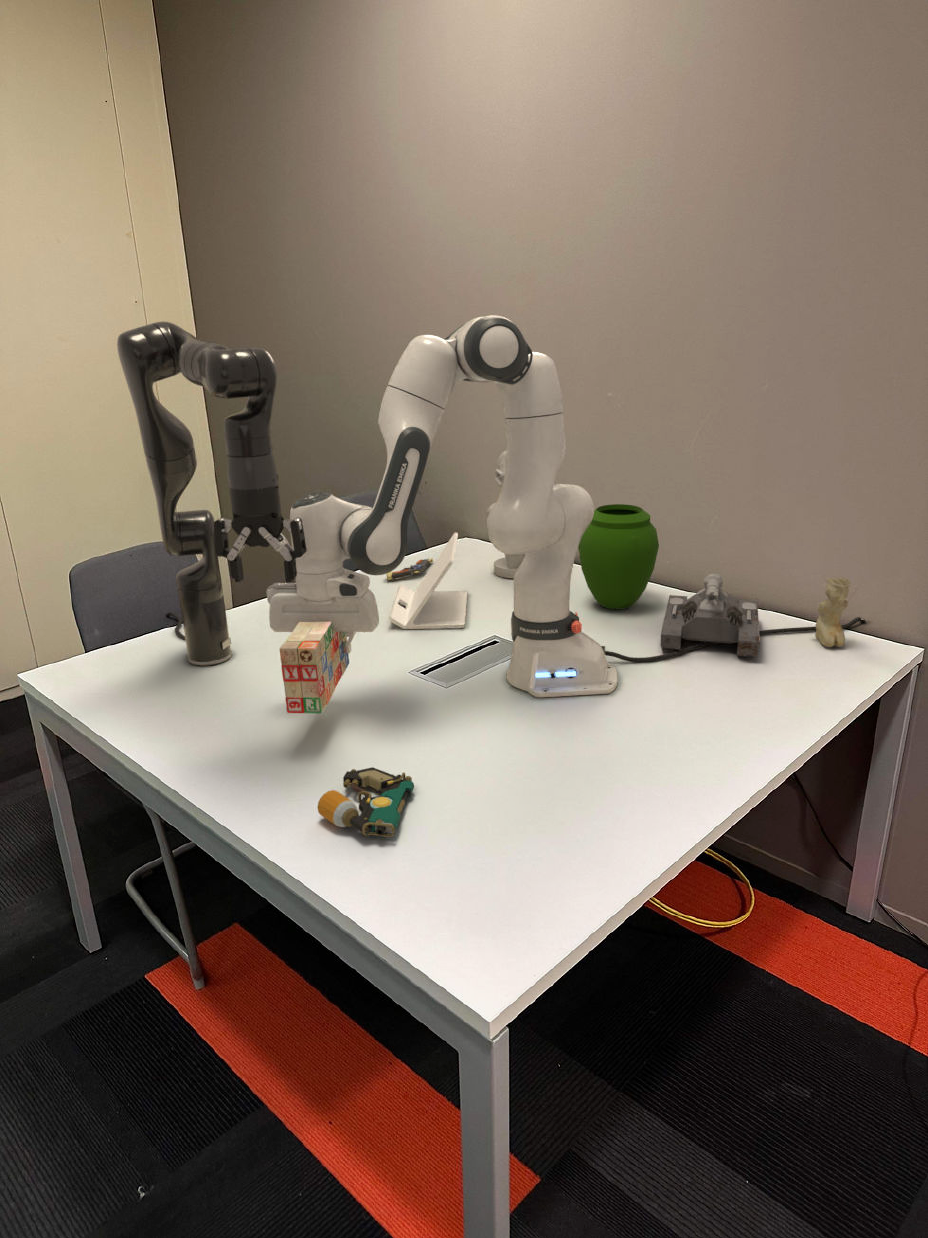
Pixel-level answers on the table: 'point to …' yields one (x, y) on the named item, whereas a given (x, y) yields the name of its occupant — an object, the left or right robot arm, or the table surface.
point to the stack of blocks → (312, 666)
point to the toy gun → (410, 569)
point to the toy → (711, 619)
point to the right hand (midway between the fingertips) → (327, 652)
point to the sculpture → (832, 613)
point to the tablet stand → (431, 599)
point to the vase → (618, 554)
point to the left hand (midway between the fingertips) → (264, 581)
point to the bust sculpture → (511, 561)
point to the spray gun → (368, 802)
